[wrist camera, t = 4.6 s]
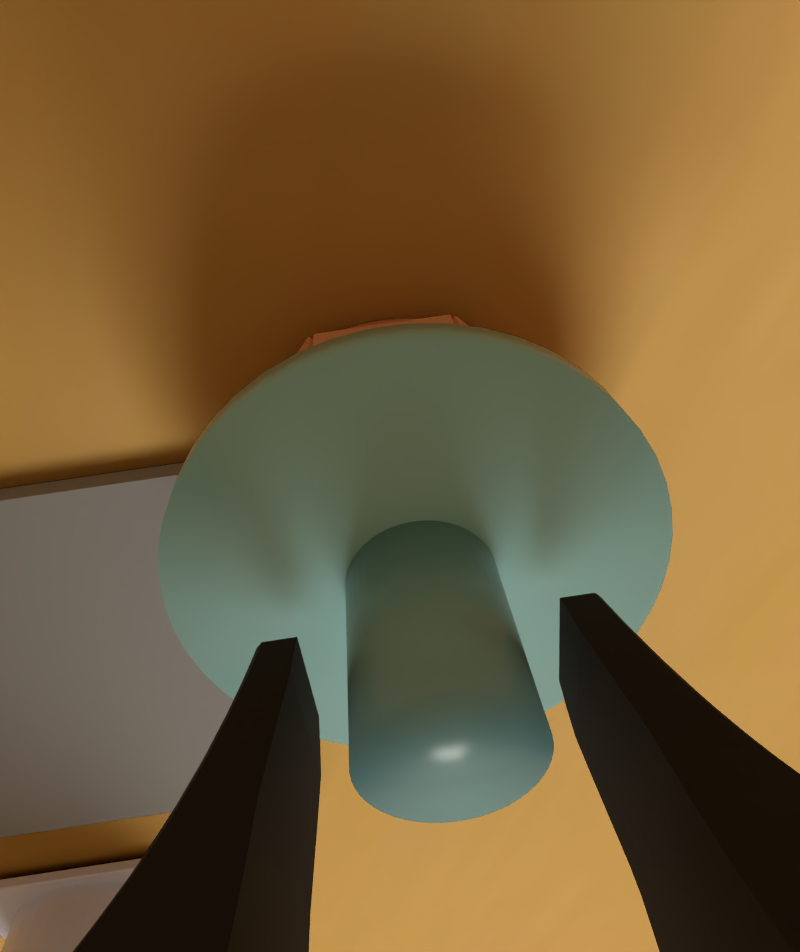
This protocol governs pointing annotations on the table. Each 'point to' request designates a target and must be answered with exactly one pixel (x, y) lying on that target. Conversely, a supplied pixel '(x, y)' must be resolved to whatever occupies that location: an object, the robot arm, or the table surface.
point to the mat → (93, 657)
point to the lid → (416, 548)
